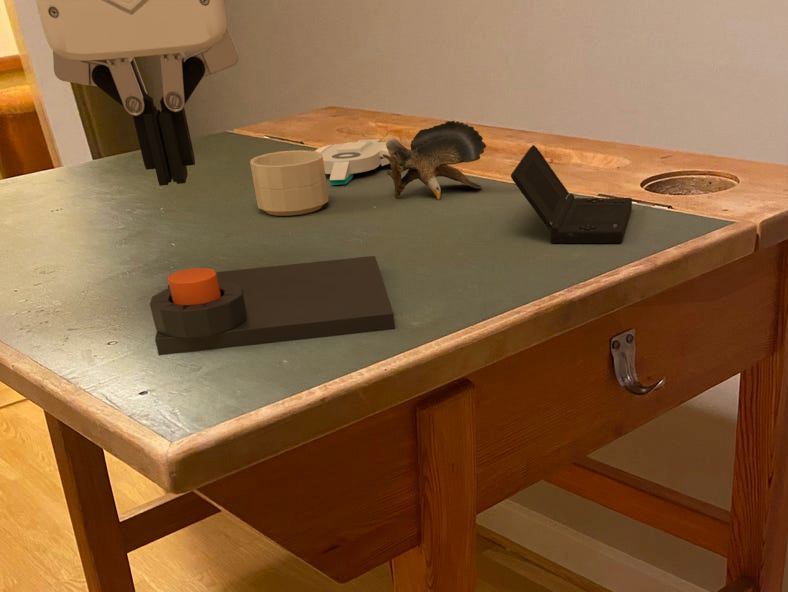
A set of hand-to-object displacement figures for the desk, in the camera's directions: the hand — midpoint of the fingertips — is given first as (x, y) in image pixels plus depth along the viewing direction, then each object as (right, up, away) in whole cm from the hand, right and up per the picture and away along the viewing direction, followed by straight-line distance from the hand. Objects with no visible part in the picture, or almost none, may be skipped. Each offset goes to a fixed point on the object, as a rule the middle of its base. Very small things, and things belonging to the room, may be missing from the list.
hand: (173, 179), depth 64 cm
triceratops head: (+15, +15, +36) cm, 42 cm away
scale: (+5, -5, +10) cm, 12 cm away
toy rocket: (+6, +22, +47) cm, 53 cm away
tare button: (0, -6, +5) cm, 8 cm away
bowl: (+1, +13, +34) cm, 37 cm away
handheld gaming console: (+28, +7, +24) cm, 38 cm away
